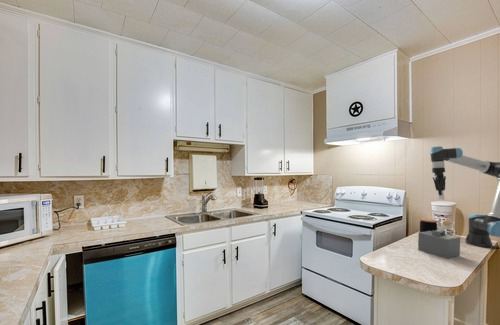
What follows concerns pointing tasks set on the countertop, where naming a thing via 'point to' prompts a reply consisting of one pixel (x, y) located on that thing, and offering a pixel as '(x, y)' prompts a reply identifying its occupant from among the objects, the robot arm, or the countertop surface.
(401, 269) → the countertop surface
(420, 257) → the countertop surface
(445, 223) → the lever
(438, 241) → the box
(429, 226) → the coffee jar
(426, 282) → the countertop surface
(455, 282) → the countertop surface
